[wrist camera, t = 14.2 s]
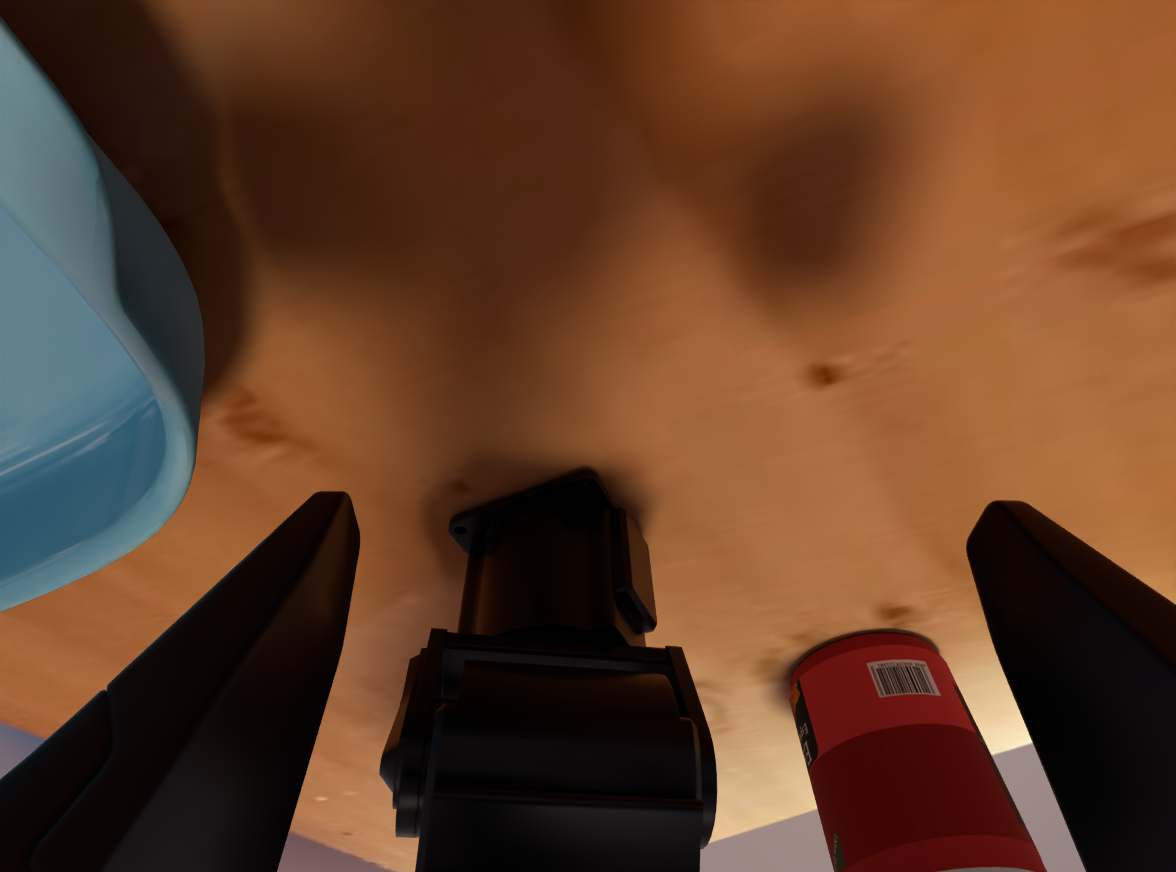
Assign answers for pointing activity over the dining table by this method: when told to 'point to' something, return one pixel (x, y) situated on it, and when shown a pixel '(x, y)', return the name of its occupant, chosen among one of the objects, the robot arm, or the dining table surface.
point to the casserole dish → (84, 348)
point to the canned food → (902, 763)
